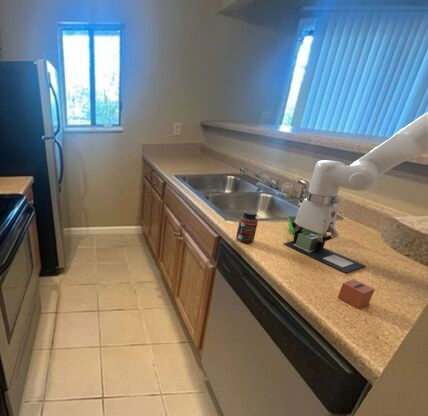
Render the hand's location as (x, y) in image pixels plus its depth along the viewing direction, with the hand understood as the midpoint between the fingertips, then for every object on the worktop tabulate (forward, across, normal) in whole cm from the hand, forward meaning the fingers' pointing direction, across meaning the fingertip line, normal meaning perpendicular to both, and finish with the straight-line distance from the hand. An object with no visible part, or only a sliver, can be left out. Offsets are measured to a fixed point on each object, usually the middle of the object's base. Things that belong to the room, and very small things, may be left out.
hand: (306, 245), depth 97 cm
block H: (0, 0, 0) cm, 0 cm away
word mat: (+1, -5, 0) cm, 5 cm away
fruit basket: (+1, +9, -12) cm, 15 cm away
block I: (+1, -23, +17) cm, 29 cm away
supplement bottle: (+1, +13, +15) cm, 20 cm away
